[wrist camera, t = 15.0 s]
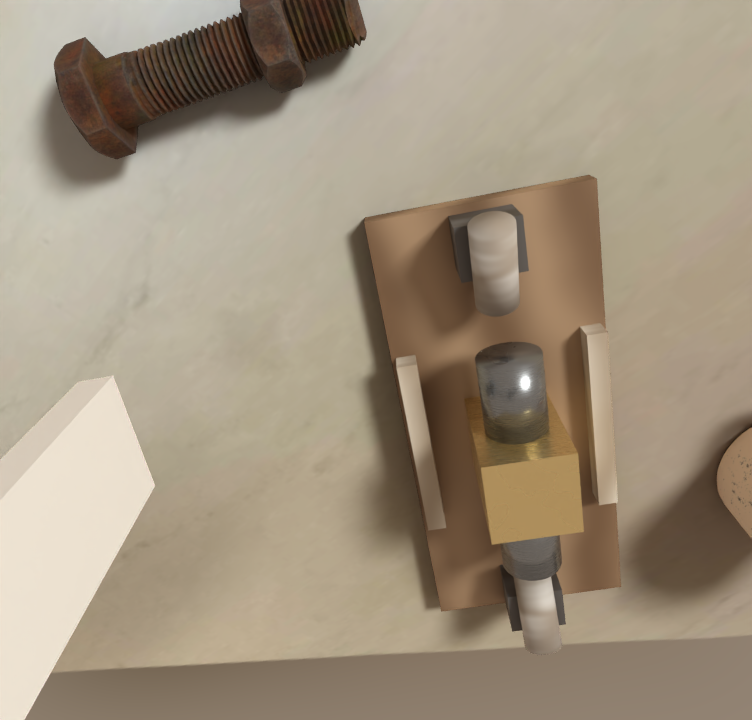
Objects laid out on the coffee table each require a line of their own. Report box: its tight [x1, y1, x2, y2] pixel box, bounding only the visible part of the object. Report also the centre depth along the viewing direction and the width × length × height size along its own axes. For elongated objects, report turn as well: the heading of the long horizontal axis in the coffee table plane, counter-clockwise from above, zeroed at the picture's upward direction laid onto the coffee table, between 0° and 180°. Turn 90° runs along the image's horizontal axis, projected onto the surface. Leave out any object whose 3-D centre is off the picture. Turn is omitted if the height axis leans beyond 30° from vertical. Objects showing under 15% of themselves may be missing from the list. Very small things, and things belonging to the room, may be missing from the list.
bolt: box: [54, 0, 367, 159], centre depth 34 cm, size 6×5×15 cm
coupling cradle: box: [364, 175, 621, 655], centre depth 41 cm, size 13×29×7 cm, turn 11°
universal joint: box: [464, 342, 584, 581], centre depth 39 cm, size 5×14×8 cm, turn 10°
